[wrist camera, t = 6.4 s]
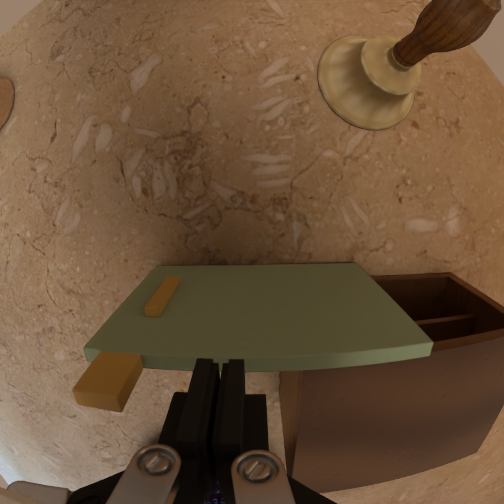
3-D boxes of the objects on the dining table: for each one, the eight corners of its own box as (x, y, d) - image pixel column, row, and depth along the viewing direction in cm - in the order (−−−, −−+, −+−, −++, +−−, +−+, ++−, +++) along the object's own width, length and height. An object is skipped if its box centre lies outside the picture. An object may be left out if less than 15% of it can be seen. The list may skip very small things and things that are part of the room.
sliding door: (155, 258, 24) (46, 372, 9) (356, 255, 24) (471, 365, 9) (157, 274, 25) (57, 400, 10) (355, 271, 25) (460, 393, 10)
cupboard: (282, 278, 25) (303, 366, 14) (450, 272, 25) (535, 328, 13) (278, 394, 28) (288, 496, 17) (425, 377, 28) (476, 452, 16)
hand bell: (338, 141, 22) (468, 108, 7) (302, 45, 20) (360, -90, 5) (425, 120, 22) (576, 96, 6) (391, 32, 20) (501, -58, 4)
